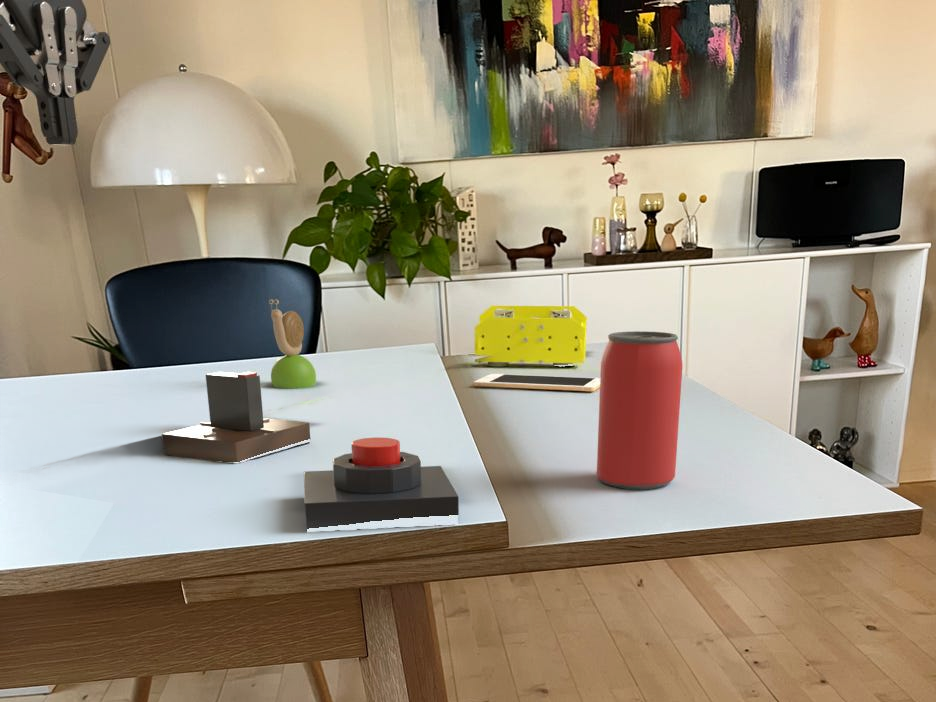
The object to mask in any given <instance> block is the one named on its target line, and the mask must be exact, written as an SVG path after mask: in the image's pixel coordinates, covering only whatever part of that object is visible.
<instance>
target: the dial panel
mask: <svg viewBox="0 0 936 702" xmlns="http://www.w3.org/2000/svg"><path fill="white" fill-rule="evenodd" d="M263 422H264V428H262V429H258V430H254V431H243V430H234V429H225V428H216V427H211V423H210V421H209V422H206V421H205V422H204V421H201V422H199V423H200V424H197V425H193V426H189V427H185V428H181V429H177V430H176V429H175V430H172V431H168V432H164V433H161V437H162V438H161V439H162V446H163V454H164V455H165V456H170V457H171V456H172V457H179V458H187V459H194V460H200V461H201V460H203V461H208V460H211V461H210V462H216V461H222V462H221V463H225V462H240V461H242V460H245V459H248V458H251V457H254V456H257V455H260V454H263V453H266V452H269V451H273V450H276V449H279V448H282V447H285V446H288V445H291V444H295V443H298V442H301V441H304V440H308V439H310V440H311V429H310V428H311V427H310V422H308V421H297V420H288V419H278V418H270V417H269V418H267V417H263Z"/></svg>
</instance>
